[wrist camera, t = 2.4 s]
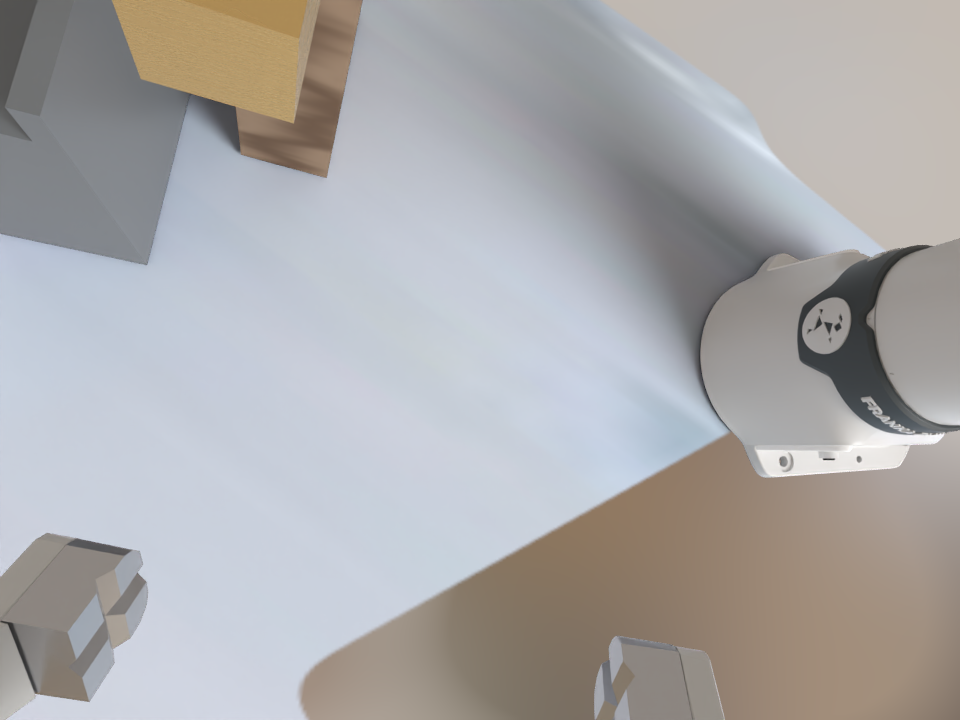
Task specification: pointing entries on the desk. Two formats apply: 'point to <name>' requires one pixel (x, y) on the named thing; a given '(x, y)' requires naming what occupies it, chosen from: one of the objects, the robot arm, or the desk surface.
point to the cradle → (81, 130)
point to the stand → (309, 98)
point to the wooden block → (224, 48)
